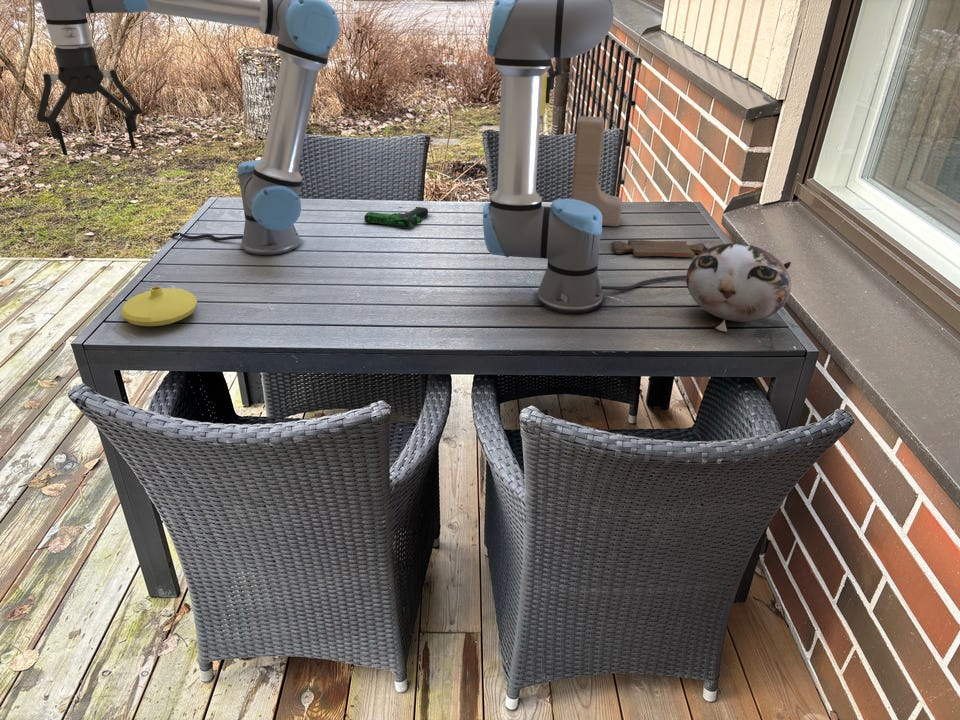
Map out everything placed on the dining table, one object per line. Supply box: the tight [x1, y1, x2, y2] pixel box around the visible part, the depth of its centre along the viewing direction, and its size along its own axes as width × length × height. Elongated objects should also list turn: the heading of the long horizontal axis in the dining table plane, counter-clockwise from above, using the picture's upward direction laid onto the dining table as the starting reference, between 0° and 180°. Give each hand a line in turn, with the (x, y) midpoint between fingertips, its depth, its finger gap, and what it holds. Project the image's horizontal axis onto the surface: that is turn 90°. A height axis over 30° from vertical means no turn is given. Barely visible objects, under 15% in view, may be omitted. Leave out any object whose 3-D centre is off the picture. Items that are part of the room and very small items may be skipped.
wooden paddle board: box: [611, 239, 706, 258], centre depth 197 cm, size 26×2×10 cm
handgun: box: [363, 206, 429, 230], centre depth 215 cm, size 16×3×15 cm
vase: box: [120, 286, 198, 327], centre depth 157 cm, size 16×16×7 cm
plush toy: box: [685, 242, 792, 332], centre depth 158 cm, size 22×18×20 cm
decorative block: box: [570, 115, 623, 227], centre depth 209 cm, size 8×15×30 cm, turn 82°
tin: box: [540, 73, 548, 116], centre depth 197 cm, size 6×6×10 cm
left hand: (100, 150), depth 157 cm, fingers open, 13 cm apart
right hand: (534, 102), depth 198 cm, fingers closed on tin, 6 cm apart
